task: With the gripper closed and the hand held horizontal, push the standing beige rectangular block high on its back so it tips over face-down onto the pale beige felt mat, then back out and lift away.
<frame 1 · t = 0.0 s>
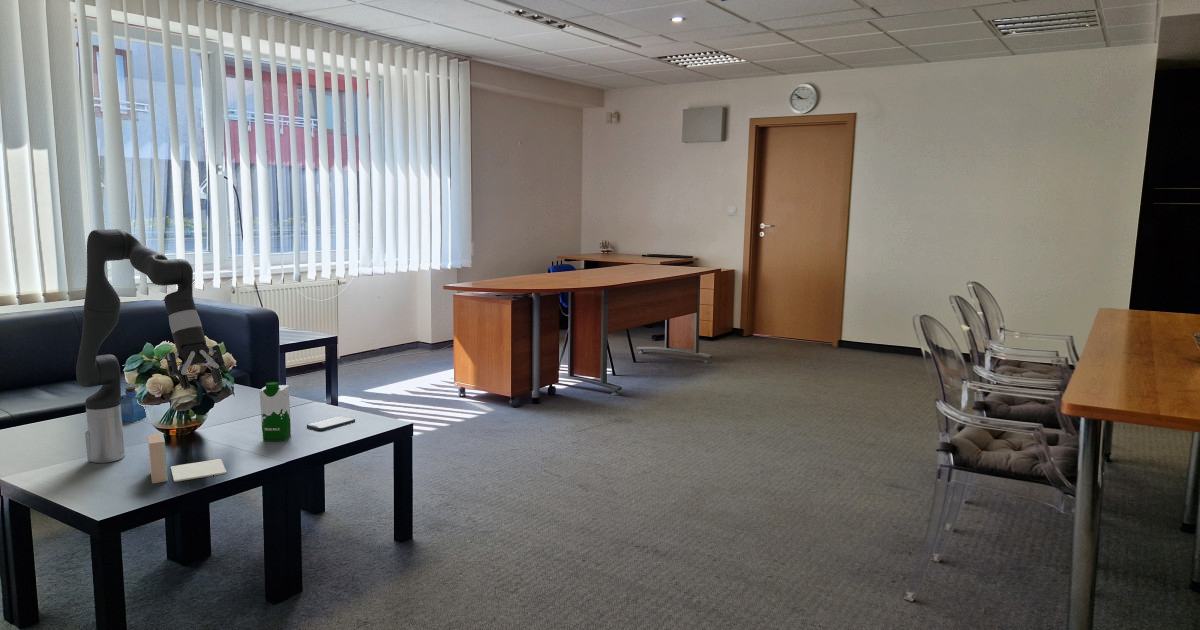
hand: (202, 385, 213), 31 cm above the table, tool tilted 20°, fingers open, 8 cm apart
felt mat: (198, 470, 238), on the table
perfume bottle: (132, 419, 293), on the table
phone case: (331, 426, 287), on the table
milk carton: (277, 438, 271), on the table
beige rectangular block: (159, 477, 232), on the table
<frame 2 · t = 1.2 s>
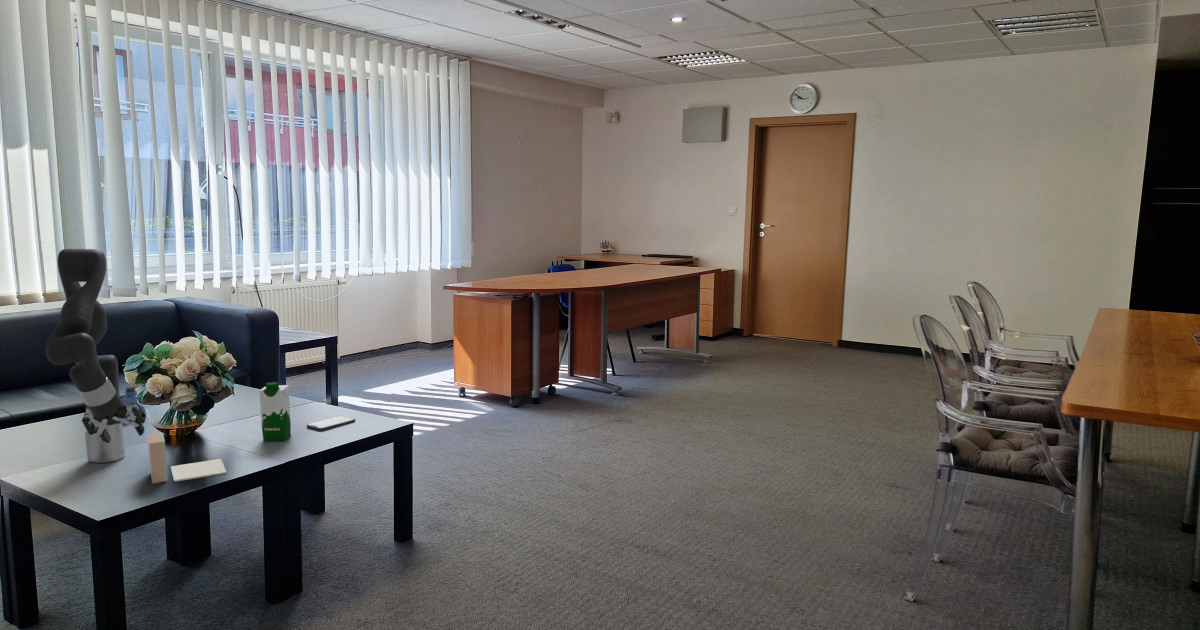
hand: (125, 437, 219), 16 cm above the table, tool tilted 30°, fingers open, 8 cm apart
nothing on the table moved.
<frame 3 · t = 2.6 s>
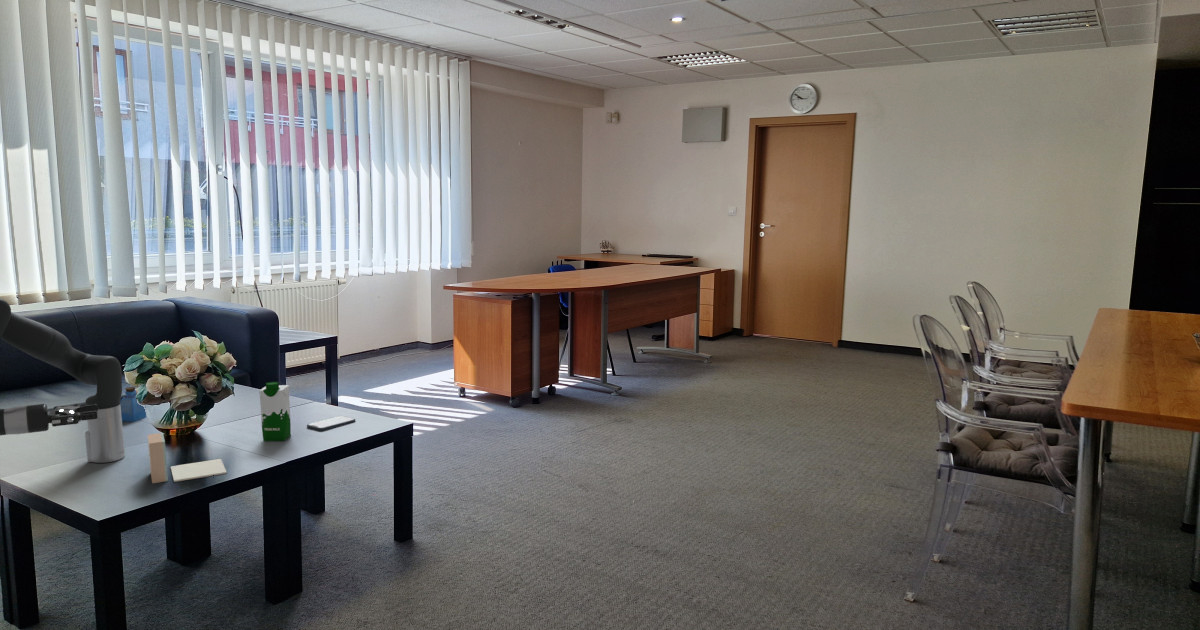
hand: (97, 411, 222), 22 cm above the table, tool horizontal, fingers open, 7 cm apart
nothing on the table moved.
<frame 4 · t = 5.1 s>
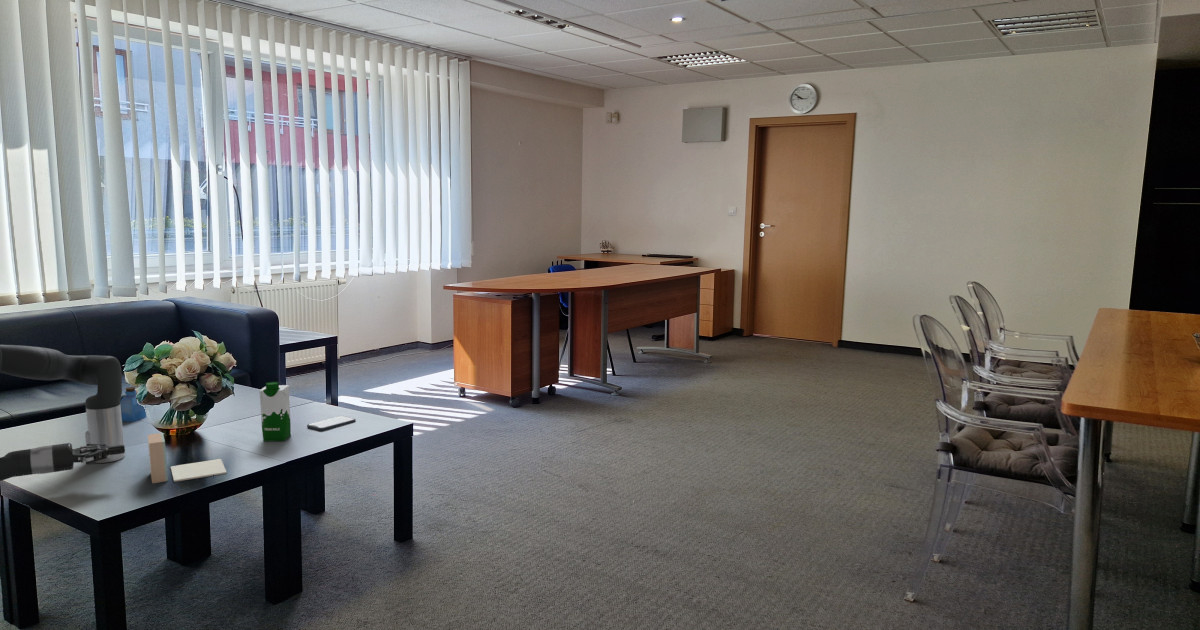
hand: (124, 448, 226), 10 cm above the table, tool horizontal, fingers closed
nothing on the table moved.
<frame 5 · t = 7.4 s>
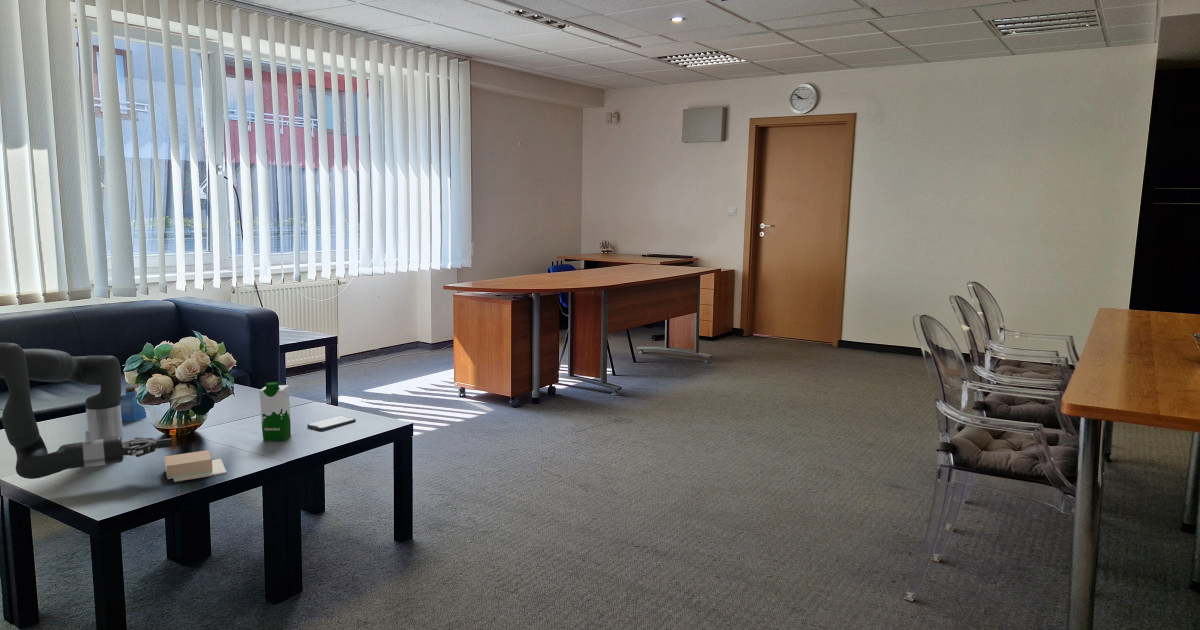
hand: (171, 442, 233), 10 cm above the table, tool horizontal, fingers closed
beige rectangular block: (165, 467, 233), point 2 cm above the table, tilted 90°, touching felt mat
everything else where it was.
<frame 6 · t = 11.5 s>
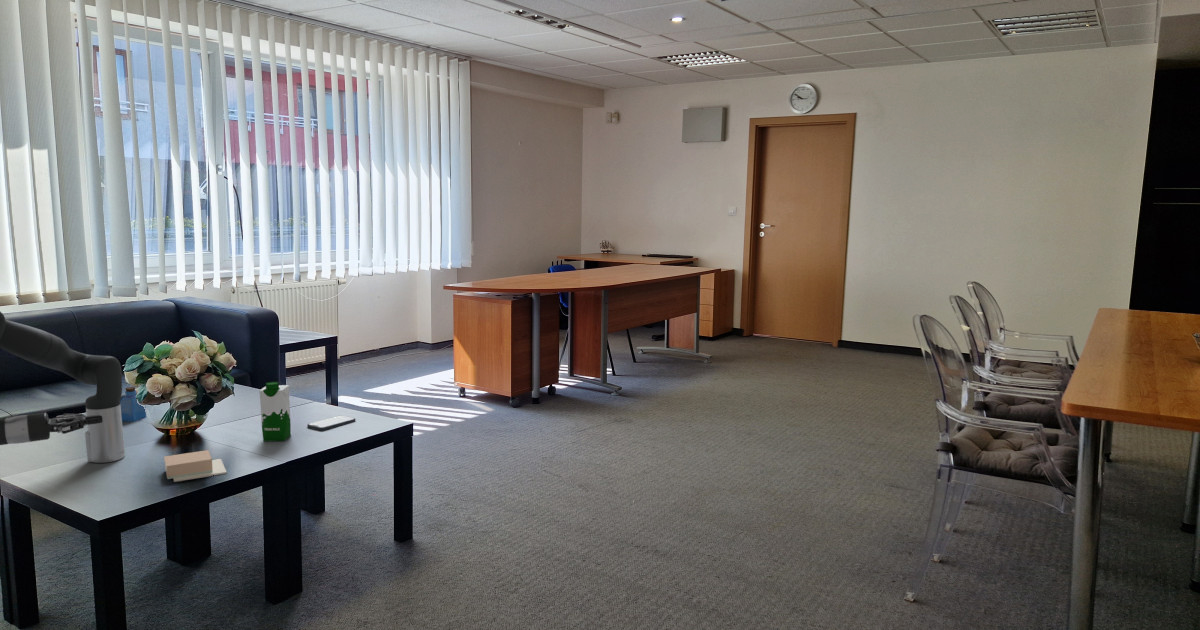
hand: (102, 418, 223), 20 cm above the table, tool horizontal, fingers closed
nothing on the table moved.
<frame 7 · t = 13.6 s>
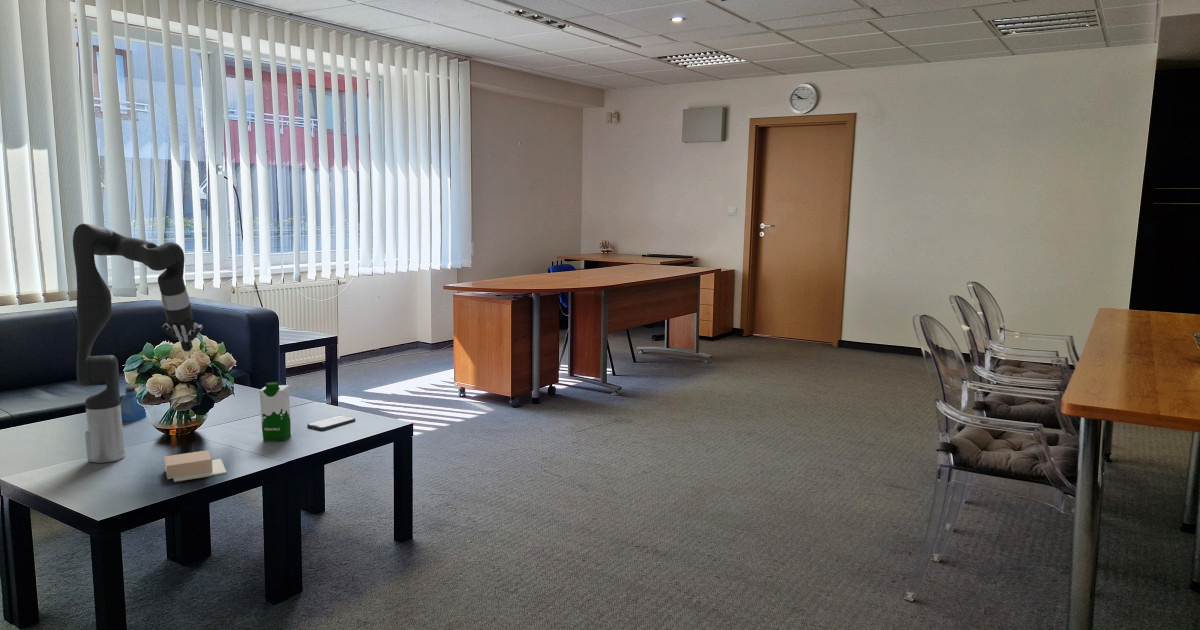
hand: (188, 350, 255), 33 cm above the table, tool tilted 20°, fingers closed
nothing on the table moved.
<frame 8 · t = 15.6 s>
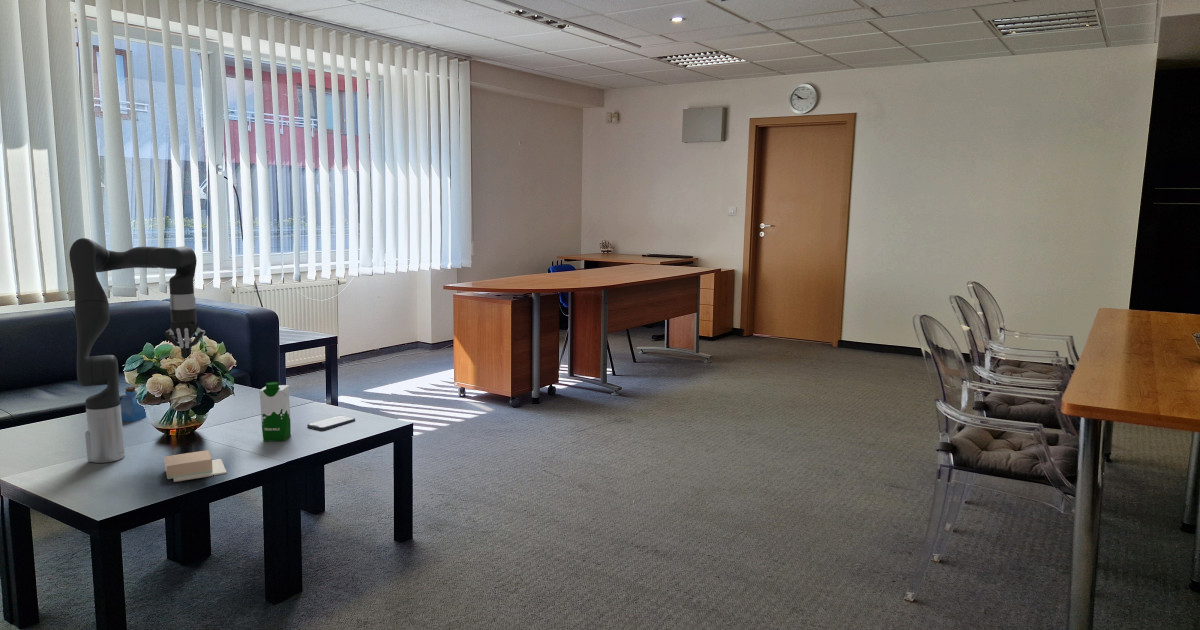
hand: (186, 358, 261), 29 cm above the table, tool pointing down, fingers closed
nothing on the table moved.
at the end: beige rectangular block tilted 90°; beige rectangular block touching felt mat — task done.
